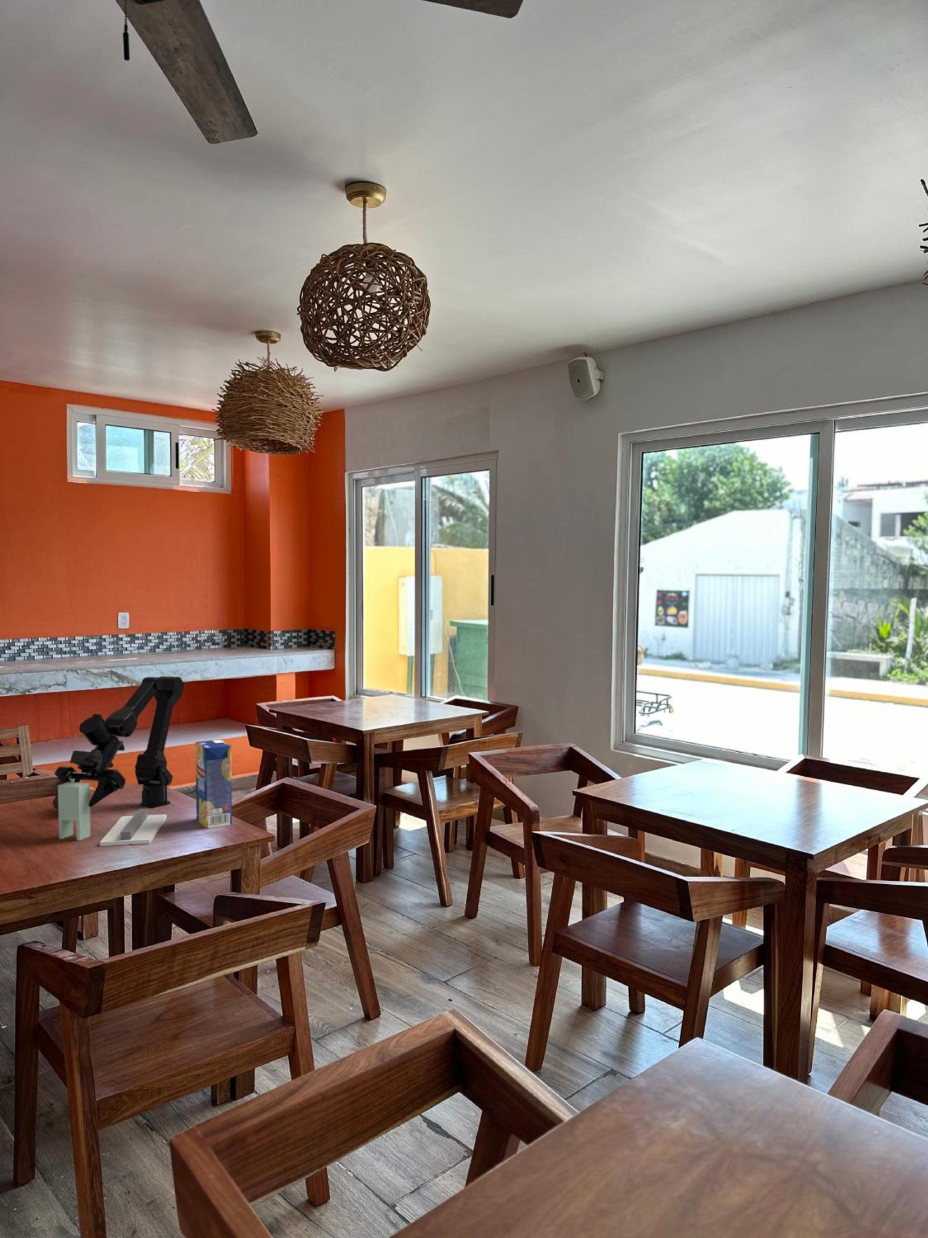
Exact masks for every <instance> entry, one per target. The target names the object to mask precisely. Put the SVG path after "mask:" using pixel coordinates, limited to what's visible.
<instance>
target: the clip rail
mask: <svg viewBox="0 0 928 1238" xmlns="http://www.w3.org/2000/svg"><path fill="white" fill-rule="evenodd" d="M166 820H167V813H166V814H149V809H148V808H143V809H142V808H141V809H138V810H137V811H136V813H135V814H134V815H125V816H124V815H123V816H121V817H120V818H119V819H118V821H116V823H115V824H114V825H113V826H112V827H111V828H110V829H109V831H108V832H107V833H106V834H105V836H103V838H102V839H101V840H100V841H99V847H108V846H110V847H112V846H113V847H114V846H128V845H129V844H133V845H143V844H144V845H150V844H151V843H152V841H153V839H154V837H155V836H156V835H157V834H158V832H159V830H160V829H161V827H162V826H163V824H164V823H165V821H166Z"/></svg>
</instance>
